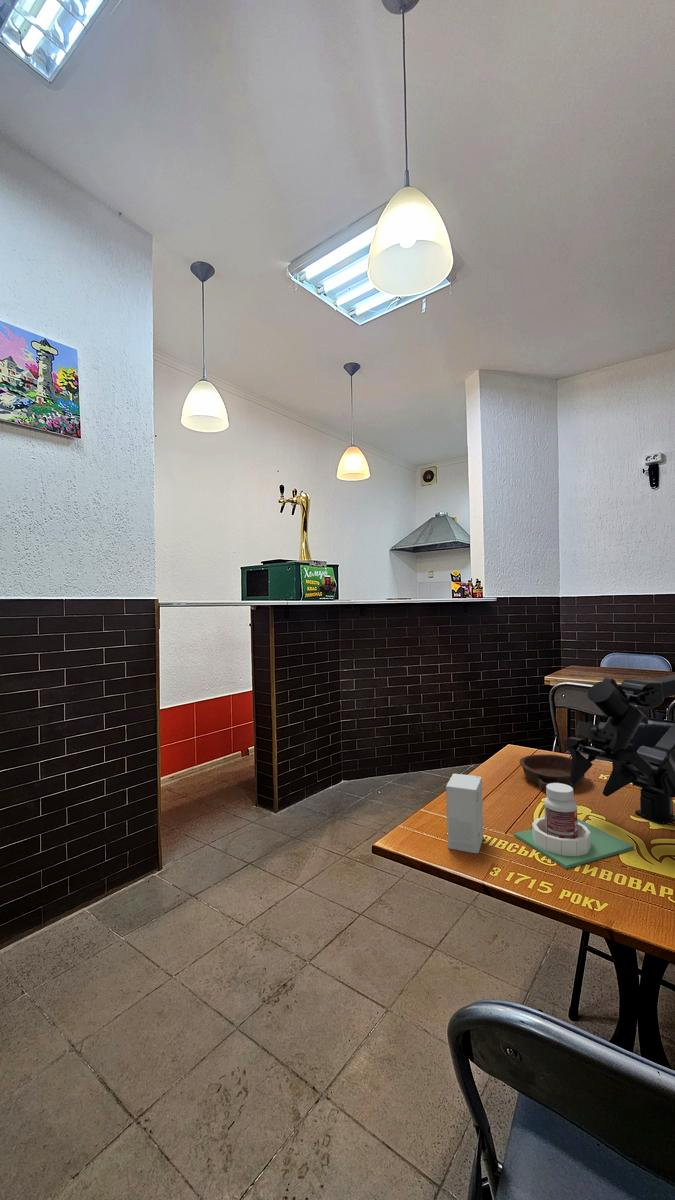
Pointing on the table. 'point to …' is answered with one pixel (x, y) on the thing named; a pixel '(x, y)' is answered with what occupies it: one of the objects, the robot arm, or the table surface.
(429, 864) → the table surface
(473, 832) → the small box
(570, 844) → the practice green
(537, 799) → the table surface
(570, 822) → the pill bottle
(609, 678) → the robot arm
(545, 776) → the dish
